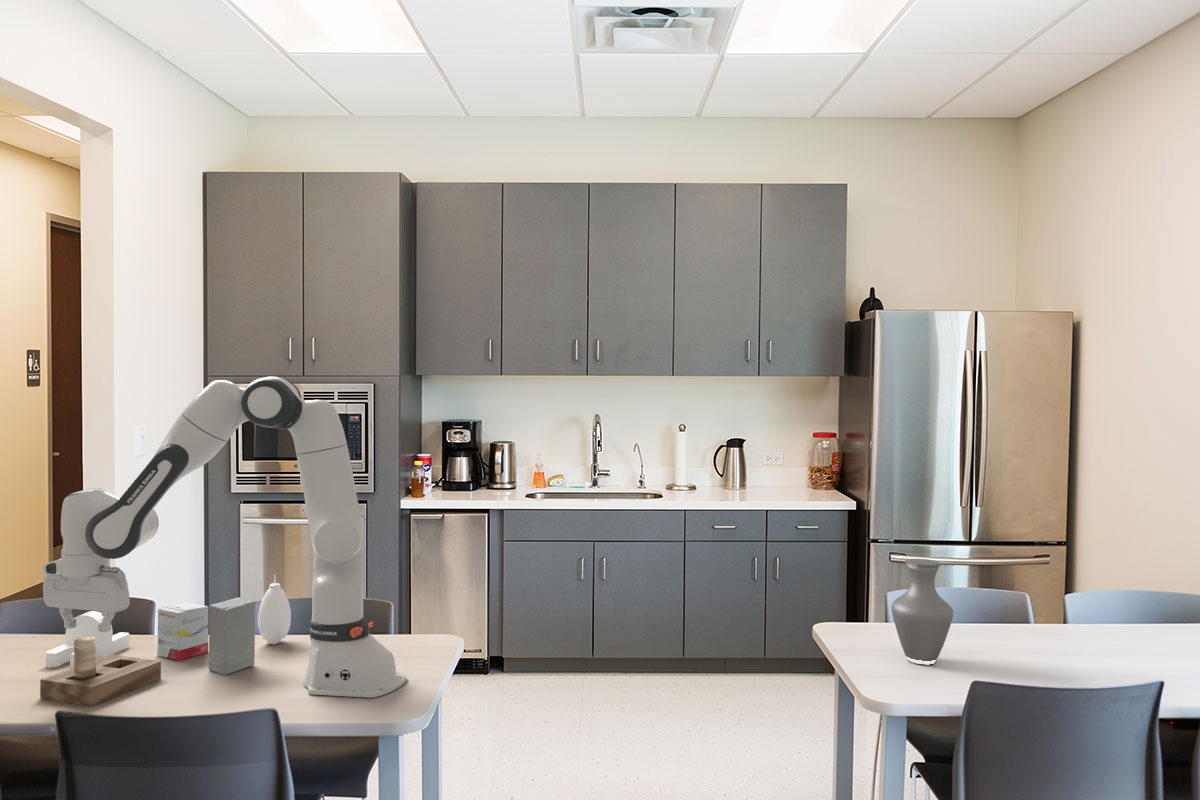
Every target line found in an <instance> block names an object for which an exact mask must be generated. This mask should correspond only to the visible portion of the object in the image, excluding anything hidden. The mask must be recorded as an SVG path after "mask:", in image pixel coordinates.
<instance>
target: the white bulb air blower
mask: <svg viewBox="0 0 1200 800" xmlns="http://www.w3.org/2000/svg"><path fill="white" fill-rule="evenodd" d="M273 576H274V577H273V582H272V583H270V584H269V586H268V587H269V588H268V589H267V590H266V592H265V593H264V596H263V597H262V600H261V603H260V606H259V609H258V615H257V626H258V631H259V634H260V636H261V637H262V639H263V640H265V641H266V642H267V643H268V644H270V645H278V644H279V643H280V642H282V641H283V639H285V638H286V637H287V636H288V635H287V634H288V633H289V631H290V627H291V622H292V621H291V620H292V611H291V606H290V602H289V600H288V599H289V598H288V596H287V594H286V593H285V591H284V589H283V588H282V587H281V584H280V583H278V582H277V578H276V577H277V575H276V574H274V575H273Z"/></svg>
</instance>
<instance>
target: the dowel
mask: <svg viewBox="0 0 1200 800" xmlns="http://www.w3.org/2000/svg"><path fill="white" fill-rule="evenodd" d="M95 677H96V637H81V638H77V639H75V640H74V680H75V681H81V682H84V681H87V680H90V679H92V678H95Z"/></svg>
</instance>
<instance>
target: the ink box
mask: <svg viewBox="0 0 1200 800" xmlns="http://www.w3.org/2000/svg"><path fill="white" fill-rule="evenodd" d="M156 645H157V650H156V651H157V652H156V654H157V655H156V656H158V657H163V658H166V659H170V660H174V661H178V662H179V661H180V662H181V661H185V660H188V659H191V658H194V657H197V656H201V655H203V654H209V605H202V604H197V603H193V602H188V601H187V602H185V603H179V604H178V603H177V604H174V605H169V606H166V607H165V606H164V607H160V608H158V609H157V644H156Z"/></svg>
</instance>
